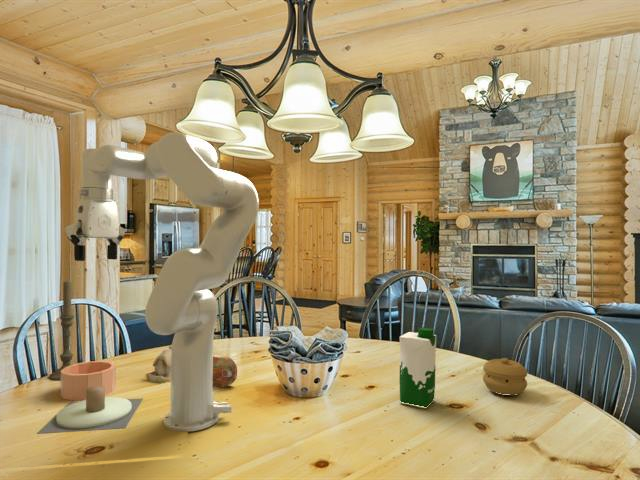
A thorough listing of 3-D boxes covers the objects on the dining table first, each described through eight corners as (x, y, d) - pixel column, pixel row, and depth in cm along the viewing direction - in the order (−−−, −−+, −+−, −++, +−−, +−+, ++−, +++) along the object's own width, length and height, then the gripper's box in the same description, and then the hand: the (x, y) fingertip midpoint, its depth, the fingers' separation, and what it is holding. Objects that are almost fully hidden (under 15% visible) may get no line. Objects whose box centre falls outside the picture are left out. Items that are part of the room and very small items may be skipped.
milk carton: (428, 411, 108) (429, 333, 108) (395, 404, 113) (396, 328, 113) (438, 400, 116) (439, 327, 116) (406, 394, 121) (407, 323, 121)
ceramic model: (170, 369, 141) (171, 339, 141) (199, 373, 138) (200, 342, 138) (139, 382, 128) (140, 349, 128) (170, 387, 124) (171, 352, 124)
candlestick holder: (52, 372, 135) (53, 278, 135) (85, 370, 139) (86, 277, 139) (45, 381, 127) (46, 281, 127) (80, 378, 130) (81, 280, 130)
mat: (143, 400, 113) (143, 398, 113) (125, 430, 96) (125, 427, 96) (69, 404, 110) (69, 402, 110) (36, 436, 92) (36, 433, 92)
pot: (484, 397, 119) (484, 361, 119) (481, 384, 130) (481, 351, 130) (530, 403, 115) (531, 366, 115) (523, 388, 126) (524, 355, 126)
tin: (192, 381, 129) (193, 353, 129) (200, 378, 132) (200, 351, 132) (231, 389, 122) (232, 360, 122) (238, 386, 125) (239, 357, 125)
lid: (138, 400, 112) (138, 376, 112) (121, 426, 96) (121, 398, 96) (72, 403, 109) (72, 379, 109) (43, 431, 93) (44, 403, 93)
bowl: (120, 384, 126) (120, 360, 126) (106, 400, 113) (106, 374, 113) (72, 386, 123) (72, 362, 123) (52, 403, 111) (53, 376, 111)
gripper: (76, 192, 105) (75, 261, 105) (133, 198, 120) (133, 259, 121) (56, 193, 108) (55, 260, 108) (115, 199, 124) (114, 258, 124)
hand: (96, 259), depth 114 cm, fingers open, 9 cm apart
